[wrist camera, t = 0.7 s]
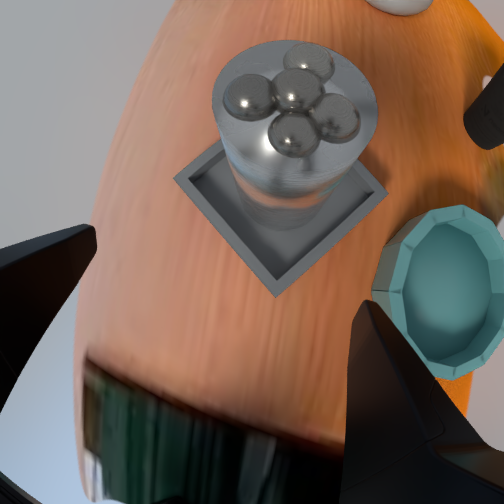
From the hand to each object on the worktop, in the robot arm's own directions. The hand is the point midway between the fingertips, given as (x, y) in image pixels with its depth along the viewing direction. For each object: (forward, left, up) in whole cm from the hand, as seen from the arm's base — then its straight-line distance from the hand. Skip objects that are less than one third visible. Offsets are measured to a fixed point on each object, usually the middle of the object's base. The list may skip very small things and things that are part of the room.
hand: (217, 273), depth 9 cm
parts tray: (+6, +3, -13) cm, 15 cm away
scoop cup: (+6, +3, -13) cm, 14 cm away
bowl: (+11, -12, -13) cm, 21 cm away
